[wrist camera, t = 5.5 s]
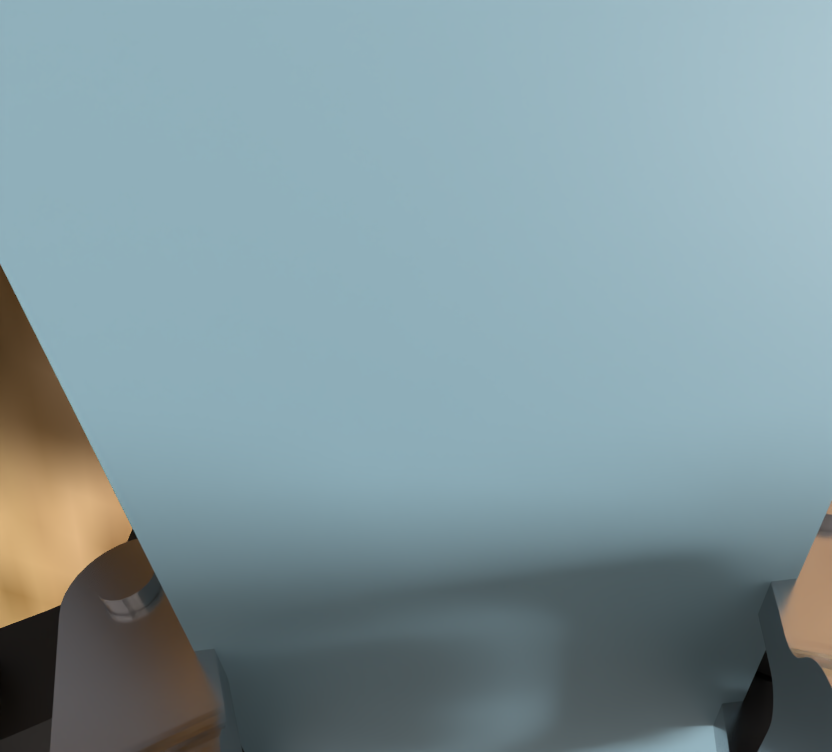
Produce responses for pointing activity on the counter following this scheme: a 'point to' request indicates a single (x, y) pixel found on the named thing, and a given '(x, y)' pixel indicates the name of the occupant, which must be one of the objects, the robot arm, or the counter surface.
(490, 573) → the block
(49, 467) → the counter surface
